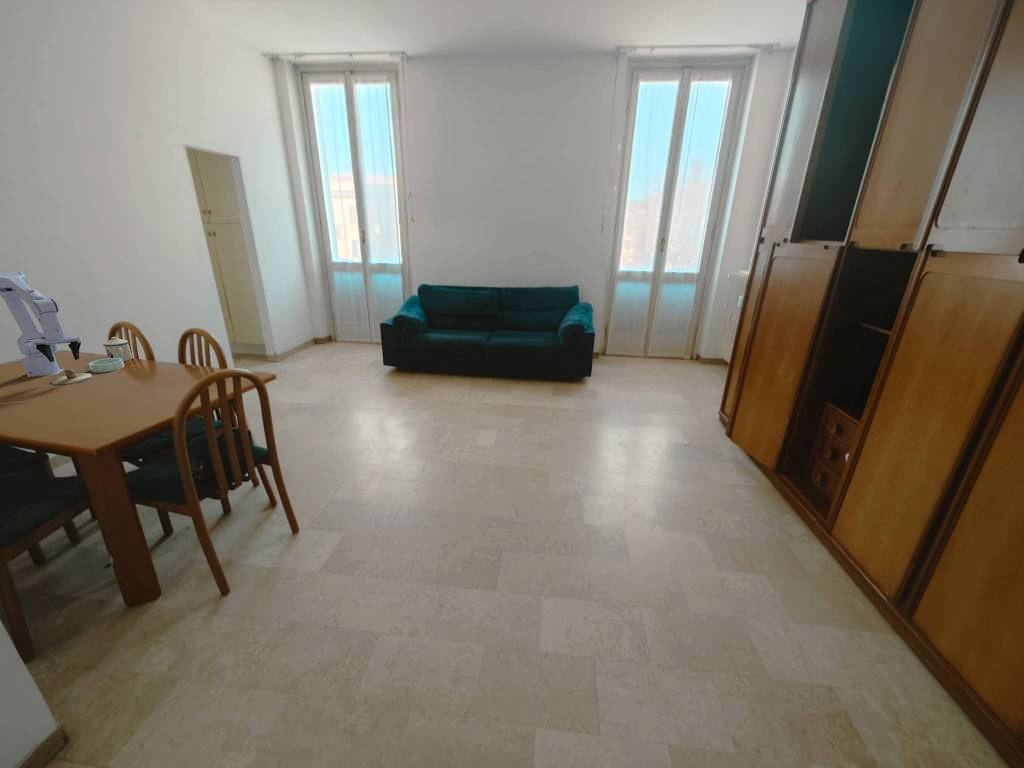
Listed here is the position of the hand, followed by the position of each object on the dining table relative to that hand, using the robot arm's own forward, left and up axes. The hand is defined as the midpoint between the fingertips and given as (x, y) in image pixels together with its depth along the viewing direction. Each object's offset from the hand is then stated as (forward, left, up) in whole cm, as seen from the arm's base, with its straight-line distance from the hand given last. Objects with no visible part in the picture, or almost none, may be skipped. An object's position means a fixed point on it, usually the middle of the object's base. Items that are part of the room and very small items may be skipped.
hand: (65, 360), depth 169 cm
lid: (0, 0, -9) cm, 9 cm away
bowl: (+8, +13, -9) cm, 18 cm away
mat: (0, 0, -9) cm, 9 cm away
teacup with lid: (+9, +28, -10) cm, 31 cm away
